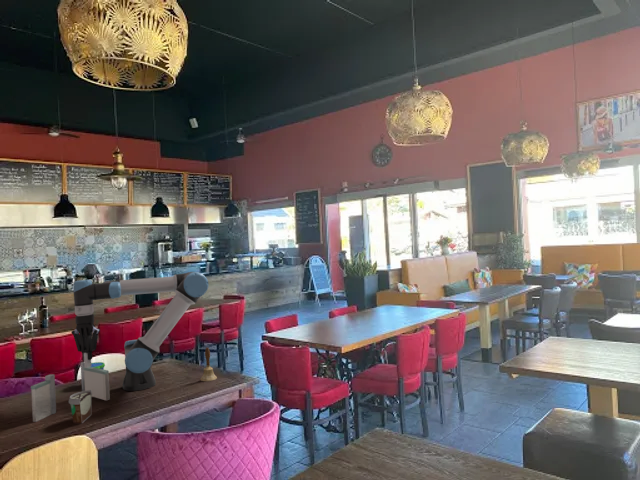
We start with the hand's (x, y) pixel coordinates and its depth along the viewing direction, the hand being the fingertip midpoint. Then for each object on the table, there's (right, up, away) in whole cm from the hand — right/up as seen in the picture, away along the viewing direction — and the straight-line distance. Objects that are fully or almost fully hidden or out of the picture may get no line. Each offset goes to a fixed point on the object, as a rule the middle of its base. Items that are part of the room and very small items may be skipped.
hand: (88, 366), depth 213 cm
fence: (-8, -16, -7) cm, 19 cm away
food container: (+8, -15, -23) cm, 29 cm away
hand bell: (+48, -14, +27) cm, 57 cm away
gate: (+3, -14, +2) cm, 14 cm away
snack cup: (-11, -17, +28) cm, 34 cm away
